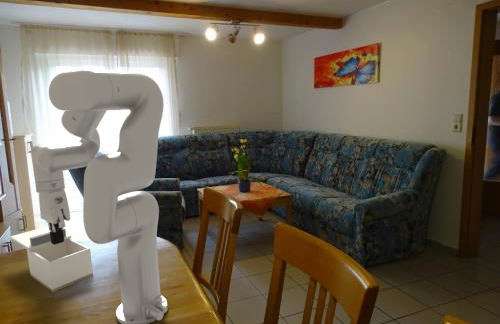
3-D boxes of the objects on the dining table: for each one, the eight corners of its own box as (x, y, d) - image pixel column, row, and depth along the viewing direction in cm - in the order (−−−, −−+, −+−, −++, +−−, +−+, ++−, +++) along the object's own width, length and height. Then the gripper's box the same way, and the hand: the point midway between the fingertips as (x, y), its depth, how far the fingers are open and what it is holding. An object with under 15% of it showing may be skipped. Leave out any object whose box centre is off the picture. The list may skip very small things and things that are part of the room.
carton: (93, 275, 107) (90, 248, 105) (52, 292, 97) (48, 263, 96) (69, 261, 116) (66, 236, 115) (30, 275, 107) (26, 249, 105)
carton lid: (71, 237, 113) (70, 228, 112) (29, 251, 103) (28, 240, 103) (50, 227, 123) (49, 219, 122) (10, 238, 113) (9, 229, 113)
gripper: (74, 185, 100) (81, 244, 103) (52, 180, 109) (59, 233, 112) (47, 191, 94) (55, 252, 97) (26, 184, 103) (34, 241, 107)
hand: (57, 242), depth 105 cm, fingers closed
